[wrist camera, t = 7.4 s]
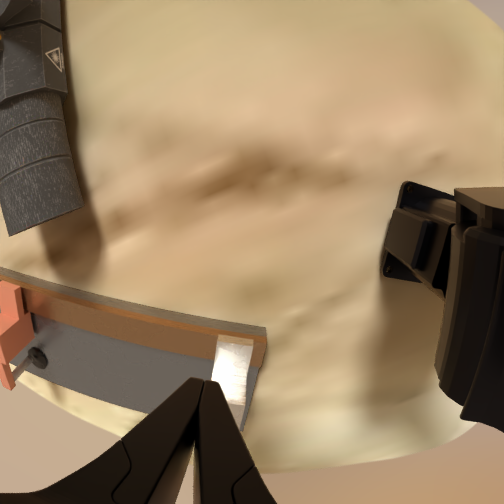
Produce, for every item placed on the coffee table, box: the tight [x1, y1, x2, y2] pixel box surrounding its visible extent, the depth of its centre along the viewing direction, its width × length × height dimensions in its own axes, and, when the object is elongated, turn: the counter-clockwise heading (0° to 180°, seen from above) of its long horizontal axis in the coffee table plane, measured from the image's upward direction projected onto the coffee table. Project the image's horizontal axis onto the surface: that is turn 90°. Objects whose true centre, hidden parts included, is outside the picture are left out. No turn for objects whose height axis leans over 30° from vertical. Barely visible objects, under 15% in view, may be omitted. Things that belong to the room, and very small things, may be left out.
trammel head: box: [0, 280, 35, 390], centre depth 18 cm, size 2×8×4 cm, turn 170°
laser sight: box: [0, 0, 85, 237], centre depth 11 cm, size 10×22×10 cm, turn 14°
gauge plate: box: [0, 267, 267, 431], centre depth 19 cm, size 24×10×6 cm, turn 80°
